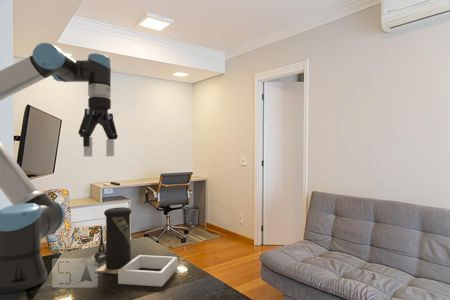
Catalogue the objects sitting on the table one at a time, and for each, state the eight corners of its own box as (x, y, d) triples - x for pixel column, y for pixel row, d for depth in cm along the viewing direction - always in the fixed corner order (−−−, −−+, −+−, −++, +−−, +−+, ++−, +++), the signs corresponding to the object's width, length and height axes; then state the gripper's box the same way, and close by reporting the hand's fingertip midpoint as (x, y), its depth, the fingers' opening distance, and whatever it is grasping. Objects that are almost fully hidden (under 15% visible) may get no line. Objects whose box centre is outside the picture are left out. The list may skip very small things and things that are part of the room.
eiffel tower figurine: (102, 251, 122) (102, 219, 122) (124, 253, 119) (123, 220, 119) (75, 264, 107) (75, 228, 108) (98, 267, 105) (98, 229, 105)
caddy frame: (118, 283, 90) (118, 270, 90) (139, 266, 103) (139, 255, 104) (161, 286, 87) (161, 272, 87) (177, 268, 101) (177, 256, 101)
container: (123, 270, 98) (122, 210, 98) (99, 269, 100) (98, 209, 100) (136, 261, 106) (135, 206, 107) (113, 260, 108) (113, 205, 109)
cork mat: (94, 272, 99) (94, 270, 99) (112, 260, 109) (112, 259, 110) (125, 274, 97) (125, 272, 97) (140, 262, 108) (140, 260, 108)
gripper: (87, 89, 94) (87, 156, 94) (126, 103, 119) (126, 156, 118) (66, 91, 95) (66, 156, 95) (109, 104, 120) (109, 156, 120)
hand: (99, 156), depth 107 cm, fingers open, 13 cm apart
